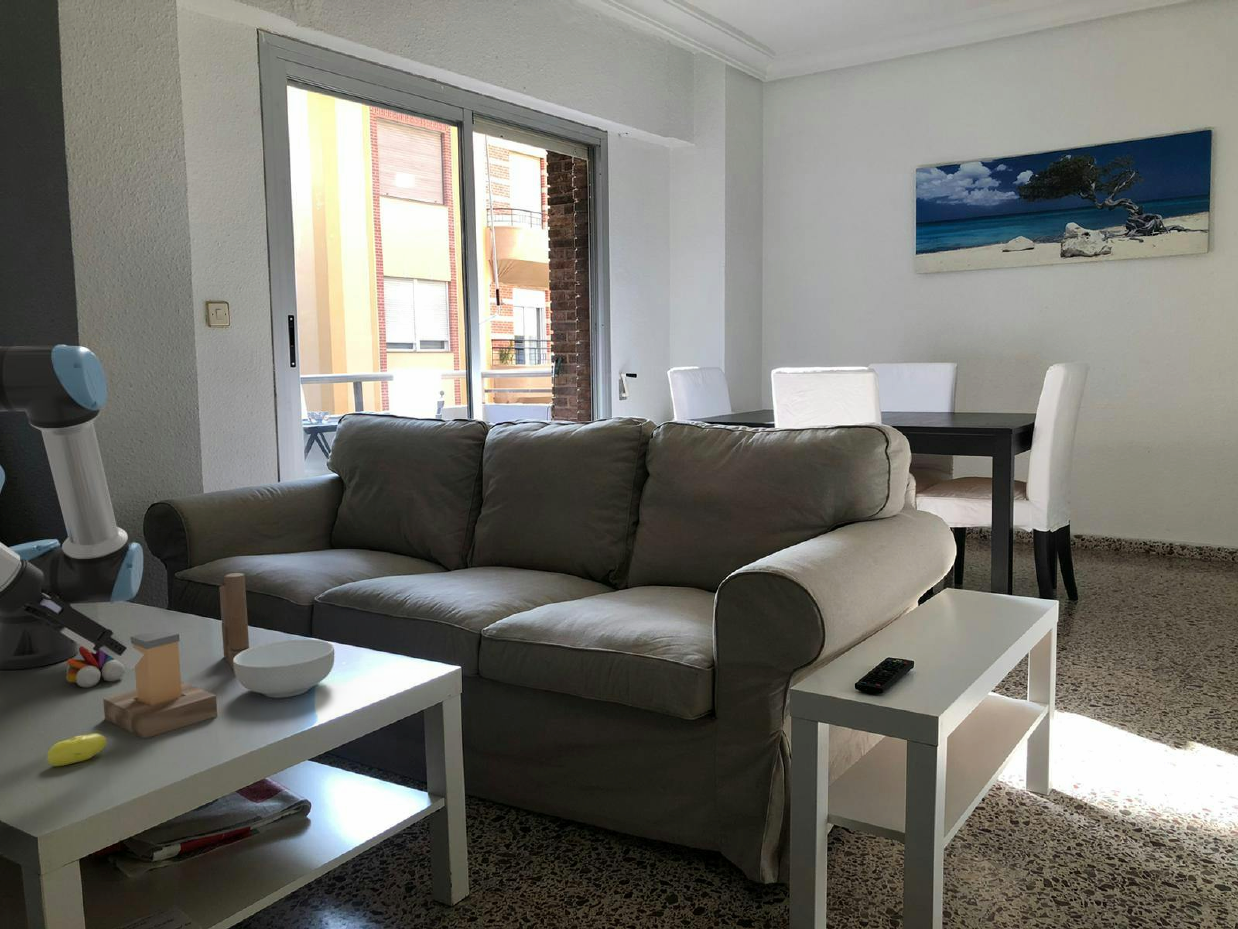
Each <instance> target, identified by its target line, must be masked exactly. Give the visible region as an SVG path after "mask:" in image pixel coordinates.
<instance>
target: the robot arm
mask: <svg viewBox="0 0 1238 929" xmlns="http://www.w3.org/2000/svg"><path fill="white" fill-rule="evenodd" d="M107 398H108V390H107V378H106V375H105V372H104V369H103V366H102V363H101V362H100V360H99V358H98V356H96V354H95V353H94V351H93V352H92V351H91V350H90V349H89V348H88V347H85V346H81V345H66V344H56V345H24V346H22V345H21V346H8V345H7V346H6V345H5V346H4V345H3V346H0V413H2V412H25V413H26V416H27V419H28V424H30V425H31V427H33V428H35V429H37V430H39V431H41V435H42V438H43V443H44V448H45V451H46V454H47V459H48V463H49V467H50V470H51V474H52V478H53V479H52V480H53V482H54V486H55V491H56V494H57V497H58V502H59V505H60V509H61V514H62V517H63V522H64V525H65V529H66V533H67V538H66V539H65V540H64V542H63V543H62V546H61V543H60V542H59V540H58V539H57V538H53V539H42V540H35V541H30V542H25V543H21V544H16V545H13V546H9V547H8V546H7V545H5V544H4V543H2V542H1V541H0V670H21V669H31V668H32V669H33V668H38V667H43V666H47V665H52V664H55V663H60V662H63V661H65V660H66V661H67V660H68V659H71V658H73V657H75V656H76V655H77V654H78V653H79V645H80V647H82V646H83V647H84V648H86V649H87V650H88V651H89V652H90V653H91V652H92V653H94V654H95V653H96V652H97V651H98V650H99V649H100V650H102V651H103V652H105V653H106V654H108V655H109V656H111V657H112V658H114V659H115V660H117V661H119V662H120V663H122V664H123V665H124V666H125V668H126V667H127V669H130V670H132V671H133V669H135V666H136V665H137V663H138V662H139V661H140V659H141V658H142V657H143V655H144V654H142V653H141V652H139V651H138V650H136V649H135V648H133V645H130V644H128V643H127V642H125V641H124V640H122V638H120V637H118V636H117V635H115V633H114V632H113V631H112V630H111V629H109V628H106V627H105V626H103V625H101V623H98V622H96V621H95V620H93V619H92V618H90V617H89V616H86V615H85V614H83V613H82V612H80V611H79V610H76V609H75V608H74V607H73V606H72V605H83V604H98V603H102V604H103V603H110V604H113V603H115V602H125V601H129V600H132V599H133V598H135V596H136V595H137V593H138V591H139V589H140V586H141V582H142V577H143V572H144V551H143V547H142V545H141V544H140V543H138V542H133V541H132V542H130V539H129V535H128V533H127V531H125V529H122V528H121V527H119V526H117V522H116V516H115V513H114V509H113V508H114V507H113V504H112V500H111V496H110V491H109V486H108V482H107V477H106V473H105V469H104V465H103V460H102V456H101V451H100V446H99V441H98V439H97V438H98V437H97V434H96V433H97V432H96V430H95V425H94V422H95V421H96V420H97V418H98V417H100V413H101V410H100V409H102V408H104V407H105V405H106V402H107ZM5 481H6V475H5V471H4V469H3V467H2V466H1V465H0V493H1V491H2V489H3V486H4V484H5Z"/></svg>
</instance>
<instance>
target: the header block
mask: <svg viewBox="0 0 1238 929" xmlns="http://www.w3.org/2000/svg"><path fill="white" fill-rule="evenodd" d="M181 691H182V697H180V698H176V699H173V700H169V701H166V702H162V703H159V704H155V705H152V706H148V705H146V704H144V703H142V702H140V701H137V689H134V690H130V691H125V692H122V693H117V694H115V695H114V694H113V695H111V696H107V697H104V698H102V700H103V712H104V720H105V721H108V722H110V723H111V724H114V725H116V726H118V727H119V728H122V729H124V730H125V731H128V732H129V733H132V734H133V735H135V736H138V737H139V738H140V739H143V740H144V739H148V738H151V737H154V736H158V735H161V734H164V733H167V732H172V731H174V730H177V729H180V728H183V727H186V726H189V725H193V724H195V723H199V722H202V721H205V720H209V719H212V718H214V717H218V710H217V709H218V708H217V707H218V706H217V695H216V694H214V693H211V692H208V691H206V690H204V689H201V688H198V687H196V686H195V685H191V684H190V683H186V682H184V681H182V680H181Z"/></svg>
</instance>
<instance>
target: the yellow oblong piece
mask: <svg viewBox="0 0 1238 929" xmlns="http://www.w3.org/2000/svg"><path fill="white" fill-rule="evenodd" d="M106 744H107V737H105V736H104V735H102V734H100V733H98V732H97V733H89V734H82V735H80V734H79V735H74V736H73V737H71V738H69V739H65V740H61V741H58V742H56V743H55V744H53V745H52V746H51V747H50V749H49V750H48V752H47V756H46V758H47V761H48V763H49V764H50V765H51V766H53V767H61V766H67V765H71V764H75V763H79V762H83V761H87V760H89V759H91V758H93V757H94V756H95V755H97V754H98V753H99V752H101V751H102V750H103V749H104V748H105V746H106Z"/></svg>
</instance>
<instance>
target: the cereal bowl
mask: <svg viewBox="0 0 1238 929" xmlns="http://www.w3.org/2000/svg"><path fill="white" fill-rule="evenodd" d="M334 662H335V647H334V645H333V644H332V643H331V642H328V641H325V640H320V639H311V638H310V639H305V638H303V639H300V638H299V639H290V640H289V639H287V640H280V641H274V642H267V643H263V644H260V645H255V646H253V647H249V649H247V650H245V651H242V652H240V653H239V654H237V655H236V656H235V657H234V659H233V666H234V670H233V672H234V675H235V677H236V679H237V681H238V683H239V684H240V685H241V686H242V687H243V688H244V689H247V690H248V691H252V692H254V693H258V694H263V695H264V696H265V697H269V698H277V699H278V698H279V699H280V698H288V697H289V698H290V697H294V696H299V695H301V694H305V693H306V692H307V691H309V690H310V689H311V688H312V687H314V686H315V685H318V684H319V683H321V682H322V681H324V680H326V678H327V677H328V675H330V673H331V672H332V669H333V667H334Z"/></svg>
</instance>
